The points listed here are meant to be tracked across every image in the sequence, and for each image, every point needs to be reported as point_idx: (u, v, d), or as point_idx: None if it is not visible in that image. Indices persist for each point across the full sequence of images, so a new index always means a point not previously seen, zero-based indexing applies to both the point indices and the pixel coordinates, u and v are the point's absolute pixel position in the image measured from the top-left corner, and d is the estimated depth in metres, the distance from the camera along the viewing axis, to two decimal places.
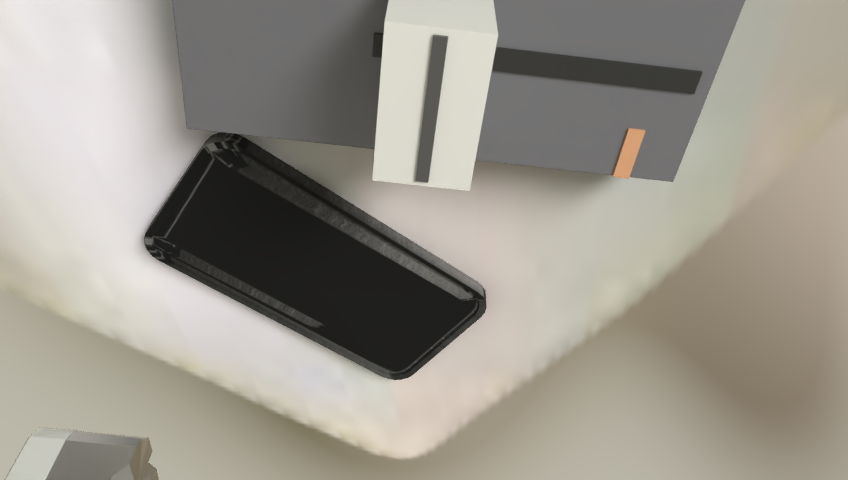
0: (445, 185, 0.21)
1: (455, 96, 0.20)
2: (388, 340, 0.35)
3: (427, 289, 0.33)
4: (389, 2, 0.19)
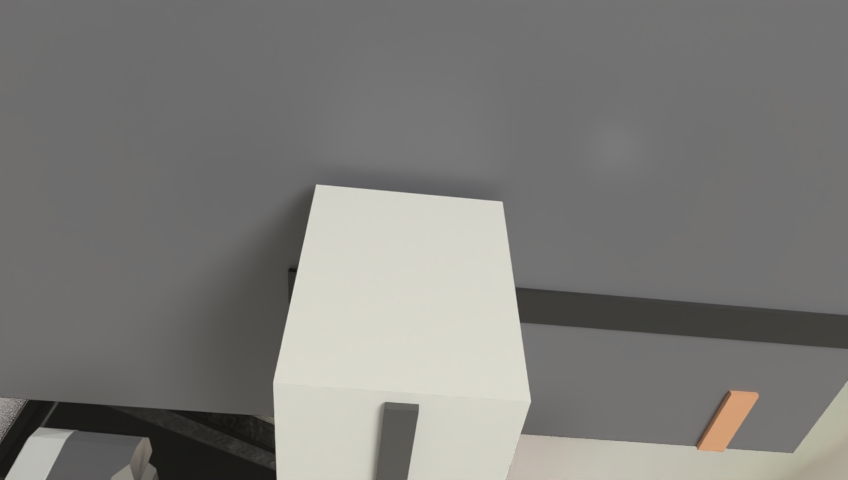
0: None
1: None
2: None
3: None
4: (294, 298, 0.09)
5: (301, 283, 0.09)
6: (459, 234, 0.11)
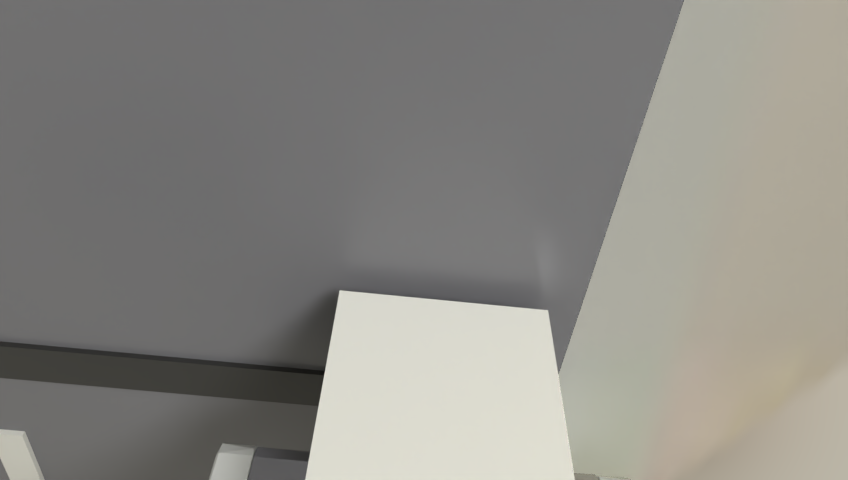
0: None
1: None
2: None
3: None
4: (314, 446, 0.08)
5: (323, 426, 0.08)
6: (500, 355, 0.09)
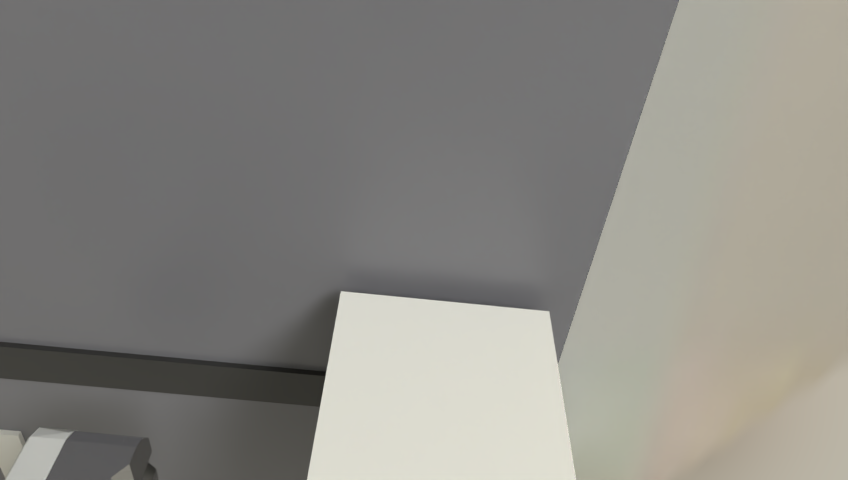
0: None
1: None
2: None
3: None
4: (315, 447, 0.08)
5: (324, 426, 0.08)
6: (502, 355, 0.09)
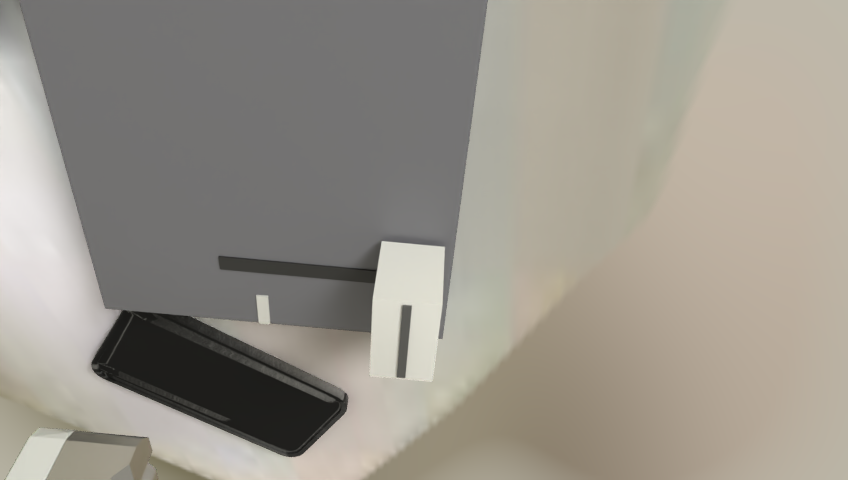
0: (416, 378, 0.33)
1: (418, 334, 0.31)
2: (280, 429, 0.47)
3: (301, 395, 0.45)
4: (376, 277, 0.31)
5: (378, 273, 0.31)
6: (428, 257, 0.32)
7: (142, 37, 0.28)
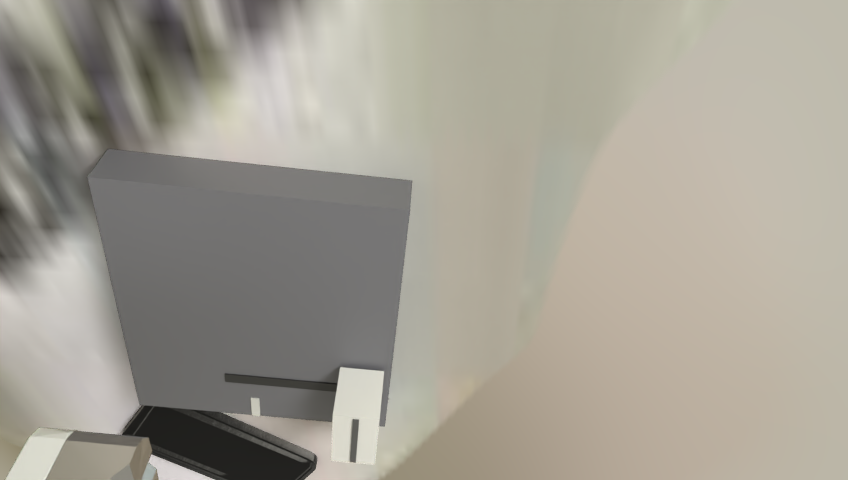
0: (363, 462, 0.48)
1: (364, 436, 0.46)
2: None
3: (281, 457, 0.59)
4: (335, 397, 0.46)
5: (337, 394, 0.46)
6: (372, 380, 0.47)
7: (180, 248, 0.42)
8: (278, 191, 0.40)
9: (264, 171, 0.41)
